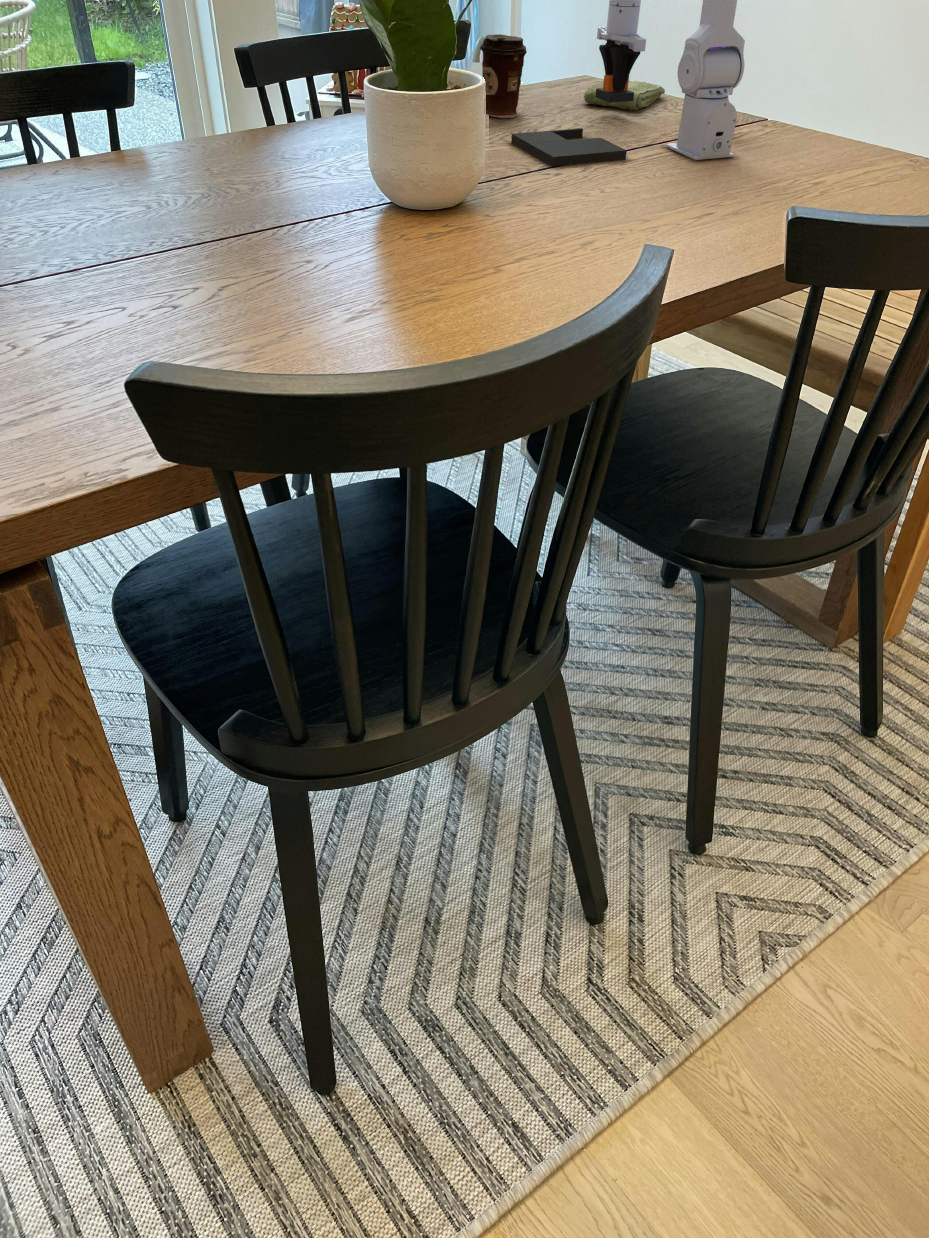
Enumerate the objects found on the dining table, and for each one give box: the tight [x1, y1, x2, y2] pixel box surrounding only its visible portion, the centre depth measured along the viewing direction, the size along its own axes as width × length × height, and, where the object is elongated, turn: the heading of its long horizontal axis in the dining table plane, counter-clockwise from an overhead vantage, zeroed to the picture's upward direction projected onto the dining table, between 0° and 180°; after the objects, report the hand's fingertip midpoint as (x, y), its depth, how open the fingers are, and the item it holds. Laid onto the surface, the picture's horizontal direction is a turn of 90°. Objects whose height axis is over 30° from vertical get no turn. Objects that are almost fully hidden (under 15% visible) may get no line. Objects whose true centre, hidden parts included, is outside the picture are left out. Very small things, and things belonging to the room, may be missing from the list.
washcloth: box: [583, 80, 666, 111], centre depth 190 cm, size 13×18×3 cm
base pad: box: [510, 127, 628, 168], centre depth 159 cm, size 16×14×2 cm
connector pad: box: [595, 74, 634, 103], centre depth 177 cm, size 5×5×4 cm
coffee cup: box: [479, 33, 528, 119], centre depth 175 cm, size 9×8×13 cm
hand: (615, 89), depth 177 cm, fingers closed on connector pad, 2 cm apart
